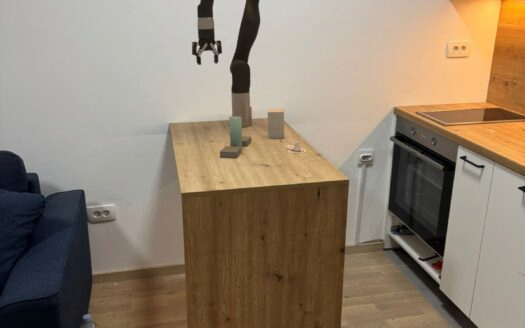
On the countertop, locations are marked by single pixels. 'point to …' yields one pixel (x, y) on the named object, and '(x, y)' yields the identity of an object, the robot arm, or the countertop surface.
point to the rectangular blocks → (235, 149)
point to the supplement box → (276, 123)
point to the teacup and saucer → (295, 147)
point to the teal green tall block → (235, 131)
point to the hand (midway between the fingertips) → (207, 64)
